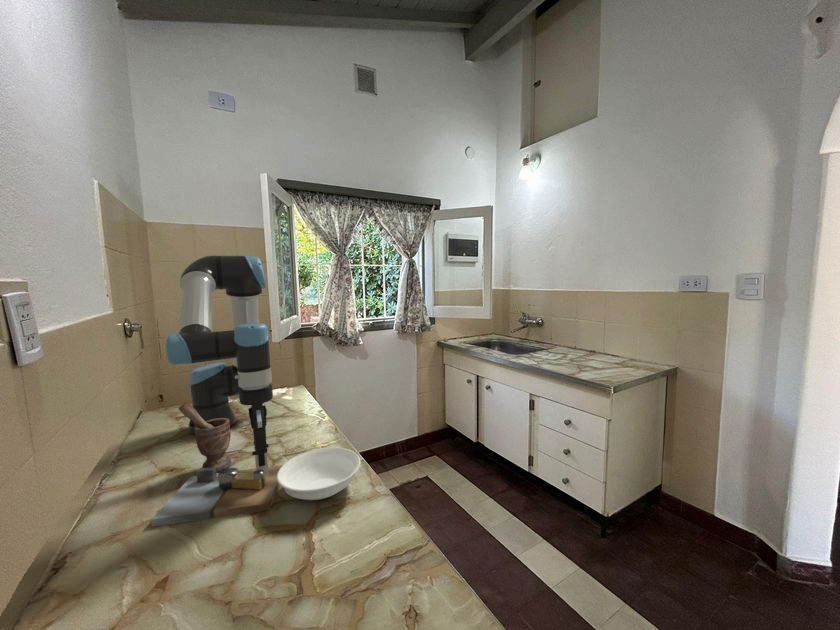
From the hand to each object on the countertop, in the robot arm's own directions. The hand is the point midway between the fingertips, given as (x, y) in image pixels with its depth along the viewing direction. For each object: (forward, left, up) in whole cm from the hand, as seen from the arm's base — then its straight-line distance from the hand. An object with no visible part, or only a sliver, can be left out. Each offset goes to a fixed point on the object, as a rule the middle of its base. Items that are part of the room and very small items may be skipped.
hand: (262, 475), depth 85 cm
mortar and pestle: (-13, -18, -3) cm, 22 cm away
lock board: (+2, -8, -3) cm, 9 cm away
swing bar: (+1, -4, -1) cm, 5 cm away
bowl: (+5, +15, -3) cm, 16 cm away
